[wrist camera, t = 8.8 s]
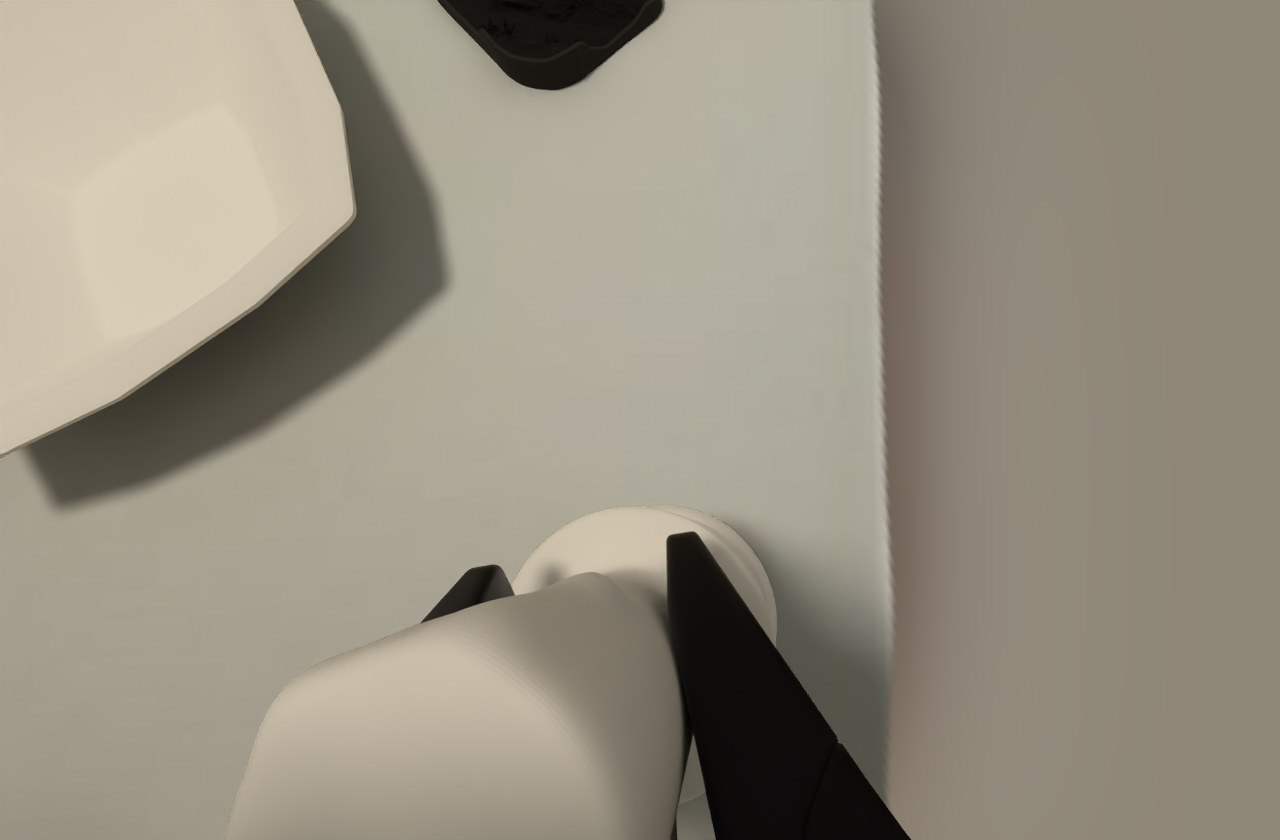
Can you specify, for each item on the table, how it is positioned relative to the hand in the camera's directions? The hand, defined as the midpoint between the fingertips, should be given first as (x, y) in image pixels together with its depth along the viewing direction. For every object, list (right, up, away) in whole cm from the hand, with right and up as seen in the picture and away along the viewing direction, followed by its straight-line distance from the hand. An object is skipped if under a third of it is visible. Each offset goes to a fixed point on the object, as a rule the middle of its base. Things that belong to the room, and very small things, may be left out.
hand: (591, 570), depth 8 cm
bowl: (-21, +12, +20) cm, 31 cm away
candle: (+1, -3, +6) cm, 7 cm away
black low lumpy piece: (-4, +24, +19) cm, 31 cm away
